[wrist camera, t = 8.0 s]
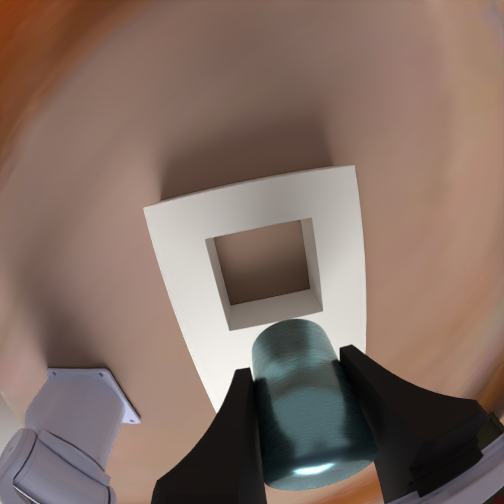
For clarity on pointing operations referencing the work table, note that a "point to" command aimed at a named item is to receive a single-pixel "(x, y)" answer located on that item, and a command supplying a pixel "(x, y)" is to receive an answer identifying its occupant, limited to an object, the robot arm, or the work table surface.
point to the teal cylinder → (306, 410)
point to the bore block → (270, 309)
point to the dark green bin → (503, 499)
